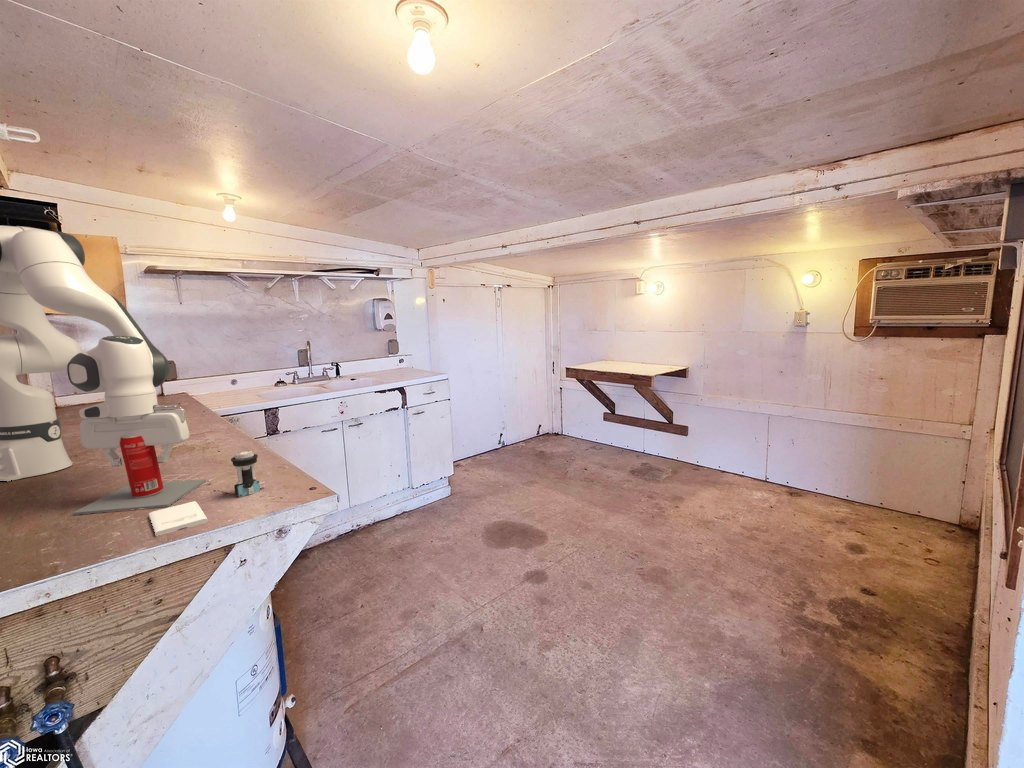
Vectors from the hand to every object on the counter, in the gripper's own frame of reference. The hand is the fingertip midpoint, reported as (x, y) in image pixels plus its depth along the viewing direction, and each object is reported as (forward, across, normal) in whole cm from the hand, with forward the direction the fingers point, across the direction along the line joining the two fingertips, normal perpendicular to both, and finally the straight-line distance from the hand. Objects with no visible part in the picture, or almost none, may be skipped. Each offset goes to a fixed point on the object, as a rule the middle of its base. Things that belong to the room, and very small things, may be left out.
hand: (141, 464), depth 97 cm
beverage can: (+8, 0, 0) cm, 8 cm away
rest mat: (+8, 0, 0) cm, 8 cm away
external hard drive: (+9, -15, +16) cm, 23 cm away
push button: (+8, -24, +3) cm, 26 cm away
